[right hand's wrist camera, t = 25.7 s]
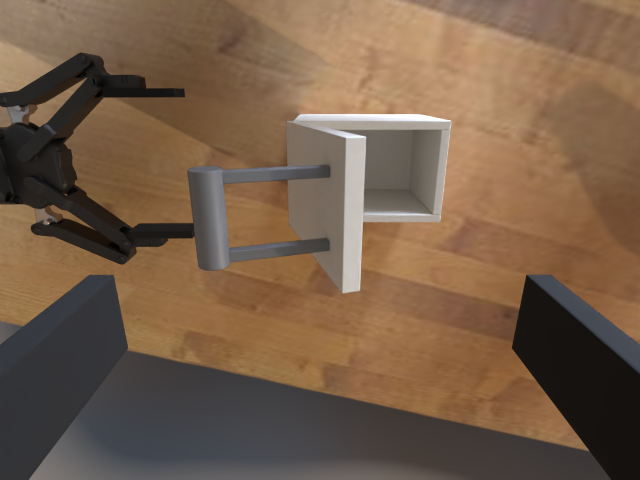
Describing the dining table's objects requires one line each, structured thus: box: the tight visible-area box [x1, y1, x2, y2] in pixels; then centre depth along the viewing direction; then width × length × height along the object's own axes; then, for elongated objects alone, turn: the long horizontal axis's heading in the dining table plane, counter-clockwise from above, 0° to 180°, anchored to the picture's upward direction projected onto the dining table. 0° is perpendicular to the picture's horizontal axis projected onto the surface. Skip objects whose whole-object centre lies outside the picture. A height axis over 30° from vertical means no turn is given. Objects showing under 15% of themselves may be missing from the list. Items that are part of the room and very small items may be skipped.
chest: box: [294, 114, 451, 222], centre depth 41 cm, size 14×9×11 cm
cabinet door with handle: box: [187, 121, 366, 293], centre depth 27 cm, size 14×9×9 cm
